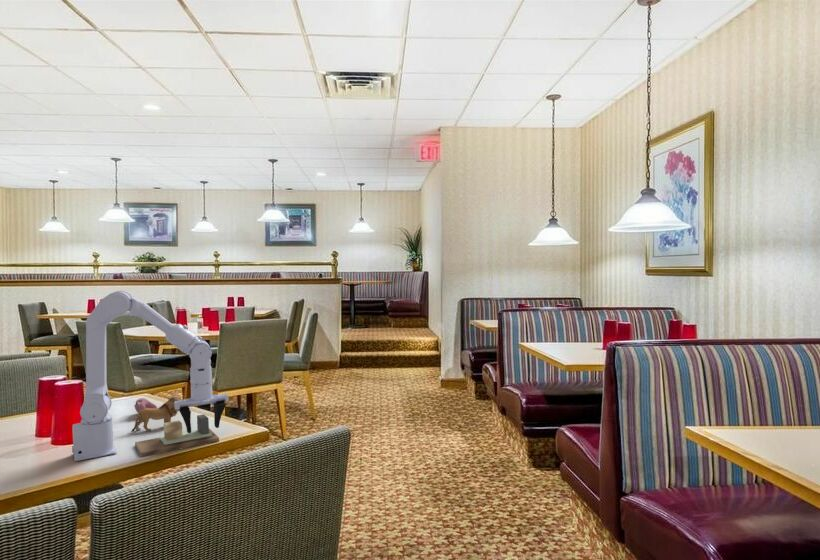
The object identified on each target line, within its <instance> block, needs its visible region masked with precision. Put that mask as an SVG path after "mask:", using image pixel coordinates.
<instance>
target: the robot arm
mask: <svg viewBox="0 0 820 560" xmlns="http://www.w3.org/2000/svg"><path fill="white" fill-rule="evenodd" d="M127 312H129V313H128V317H130V316H132V317H139V318H142V319H143V320H145V321H147V322H148V323H149V324H151V325H152V326H154V327H155V328H156V329H158V330H160V331H161V332H163V333H164V334H165V340H166V341H167V342H168V343H169V344H171V345H172V346H174V347H175V348H177V350H179V351H181V352H182V353H184V354H189V355H188V356H189V358H190V367H189V370H190V371H189V373H190V398H186V399H180V401H175V402H174V404H175V409H176V410H177V409H178V410H179V411H178V412H179V413H180V415H181V417H182V419H183V421H184V423H185V424H184V425H185V428H186V432H188V433H191V431H192V423H191V414H192V411H191V409H190V408H191V407H198V406H203V405H209V404H212V405H213V406H212V407H213V411H214V413H213V414H214V420H213V421H214V422H213V423H214V424H213V425H214V427H215V428H216V429H218V428H220V423H221V418H222V416H223V413H224V411H225V409H226V405H227V403H226V402H229V401H230V400H229V394H228V393H221V394H213V377H212V374H213V373H212V366H211V364H212V360H211V357H212V354H213V352H212V349H211V347H210V345H209V343H208V342H207V341H206V340H204V339H203V337H202V336H200V335H199V336H197V334H195V333H194V332H192V331H191V330H189V326H187V325H186V324H183V325H182V324H181V323H177V324H174V323H172V322H170V321H169V320H168V319H166V318H165V317H164V316H162V315H161V314H160V313H159V312H157V311H156V310H155V309H154V308H152V307H151V306H150V305H148V303H146V302H144V301H142V300H141V299H139V298H137V297H135V296H133V295H131V294H130V293H128V291H125V290H116V291H114V292H111V293H108V295H106V296H104V297H103V298H101V299H100V300H99V302H98V303H97V305H96V306H95V307H94V309H93V310H92V311H91V313H90V314H89V315H88V317H87V318H86V321H85V345H86V346H85V374H86V375H85V379H86V380H85V391H84V396H83V397H84V398H83V399H84V400H83V403H82V406H81V407H80V411H79V414H80V417H81V419H80V422H78V423H74V424H72V443H73V445H72V446H71V449H72V452H71V453H73V459H74V462H79V461H83V460H90V459H95V458H99V457H105V456H110V455H114V454H117V450H116V447H115V444H114V434H113V433H114V430H113V415H111V414H110V412H109V410H110V409H111V407H112V402H113V401H112V399H111V397H110V394H109V392H108V389H109V388H108V384H107V377H108V376H107V374H108V373H107V367H108V366H107V326H108V325H109V324H110V323H111V322H113V320H115V319H116V318H119V317H120V316H123V315H125V314H126V313H127Z"/></svg>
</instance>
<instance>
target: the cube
mask: <svg viewBox="0 0 820 560" xmlns="http://www.w3.org/2000/svg"><path fill="white" fill-rule="evenodd" d="M163 431H164V433H163V436H164V437H165V439H166V440H167V441H169V440H174V439H179V438H183V436H182V432H183V423H182V421H180V420H174V421H171V422H167V423H164V422H163Z"/></svg>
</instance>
